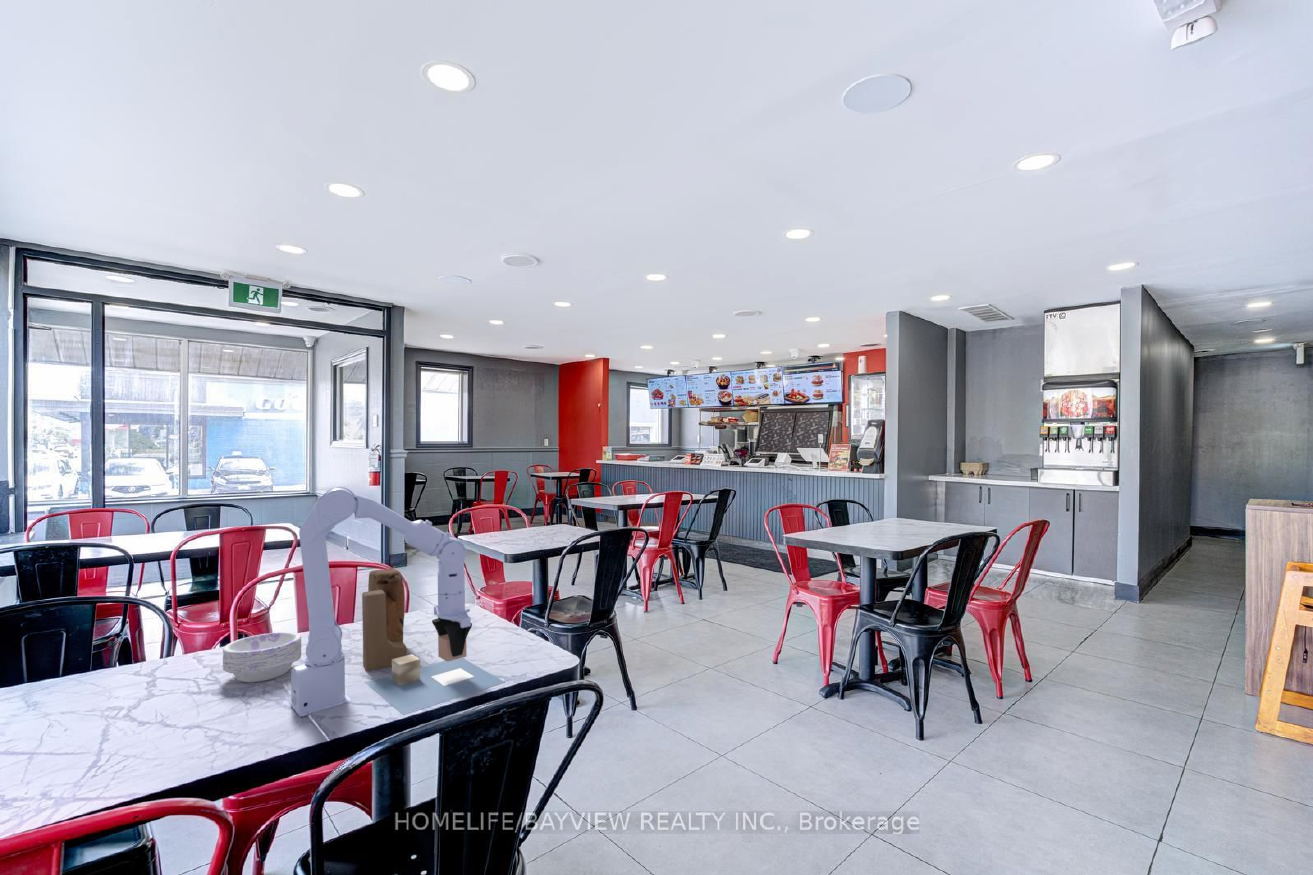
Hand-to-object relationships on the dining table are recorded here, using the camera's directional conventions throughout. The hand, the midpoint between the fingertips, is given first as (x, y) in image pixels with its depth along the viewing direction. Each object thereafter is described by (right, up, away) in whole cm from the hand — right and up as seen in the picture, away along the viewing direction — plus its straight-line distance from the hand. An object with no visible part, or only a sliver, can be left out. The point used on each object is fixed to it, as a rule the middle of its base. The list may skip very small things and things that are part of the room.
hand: (452, 652), depth 136 cm
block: (-24, -7, +21) cm, 33 cm away
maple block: (-10, -6, -1) cm, 11 cm away
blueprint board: (-3, -6, -3) cm, 7 cm away
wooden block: (-19, -7, +8) cm, 22 cm away
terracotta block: (0, -1, 0) cm, 1 cm away
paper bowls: (-45, -7, +4) cm, 46 cm away
